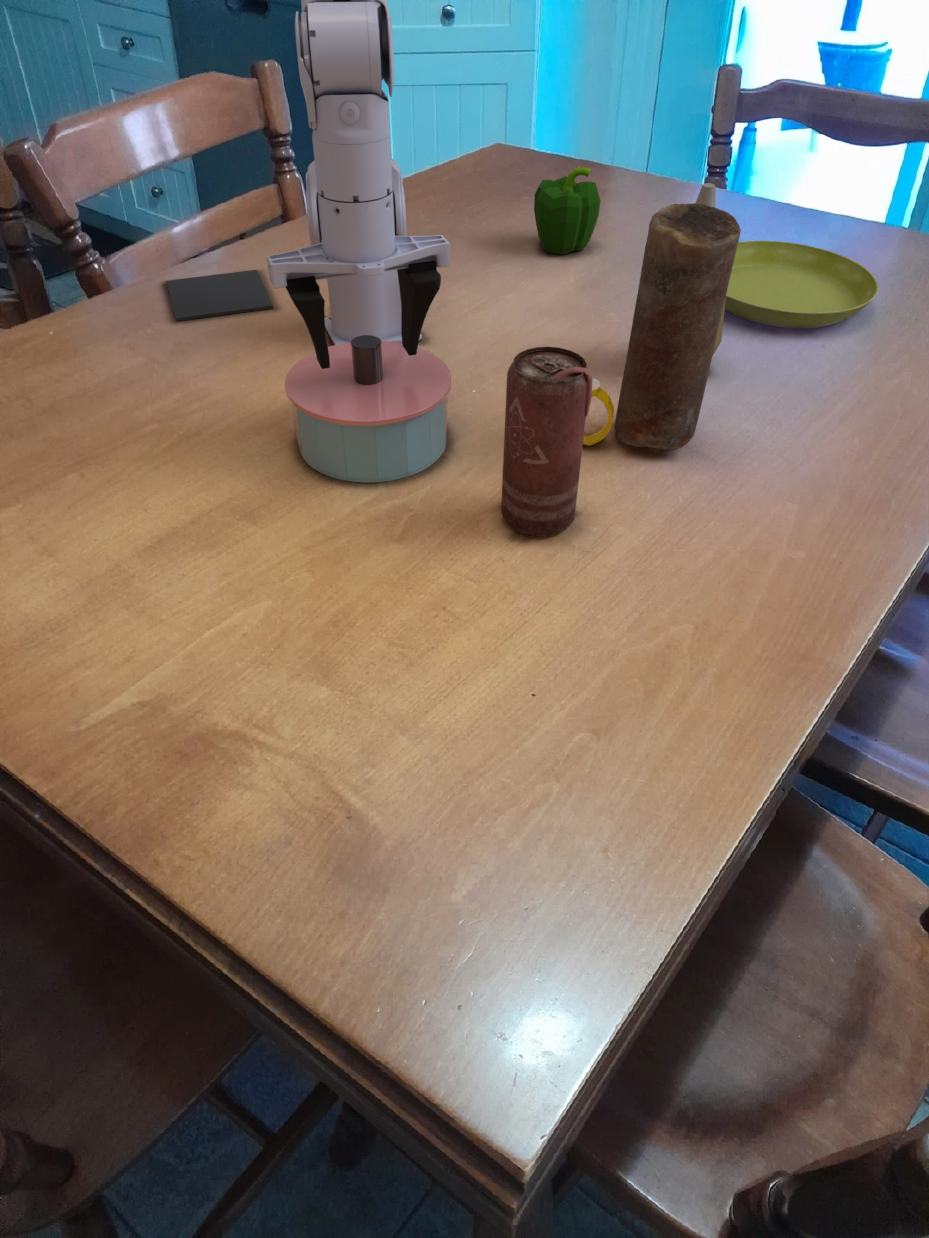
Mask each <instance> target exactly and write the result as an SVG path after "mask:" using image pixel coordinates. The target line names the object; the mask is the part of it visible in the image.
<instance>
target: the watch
mask: <svg viewBox="0 0 929 1238" xmlns="http://www.w3.org/2000/svg"><path fill="white" fill-rule="evenodd" d="M594 397H596V398H597V399H598V400H600V401H601V402H602V403H603V405H604V406H605V409H606V411H607V414H608V419H607V422H606V423H605V424H604V426H603V427H602V428H601V429H600V430H598V431H596V432H594V433H592V434H590V435H588V434H587V435H586V434H584V438H583V446H584V445H585V446H589V447H591V446H593V445H595V444H597V443H599V442H601V441H603V440H604V439H605V437H606V436H608V434H609V432H610V431H611V430H612V429H611V428H612V426H613V419H614V413H615V408H614V404H613V401H612V399H611V397H610V395H609V394H608V392H607V391H605V390H604V389H603V388H602V387H601V383H600V381H599V380H598V379H597V378H595V377H593V378H592V398H594Z"/></svg>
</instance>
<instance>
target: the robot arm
mask: <svg viewBox="0 0 929 1238" xmlns="http://www.w3.org/2000/svg"><path fill="white" fill-rule="evenodd" d="M300 4H301V13H299V11H297V10H296V11H295V17H294V31H295V46H296V56H297V65H298V74H299V81H300V85H301V88H302V92H303V96H304V100H305V105H306V111H307V121H308V128H309V129H312V133H311V140H312V149H313V159H314V160H313V161H311V162H310V164H308V167H307V171H306V173H305V186H306V187H305V201H306V202H305V204H306V215H307V217H306V218H307V225H308V235H309V241H310V245H307V246H304V247H301V248H296V249H294V250H293V249H292V250H290V251H285V252H280V253H275V254H268V255H266V263H267V271H268V277H269V280H270V283H271V285H272V288H273V289H275V290H276V289H282V288H283V289H285V290H286V292H287V293H288V296H289V297H290V299H291V300H292V303H293V304H294V306H295V308H296V309H297V311H298V313H299V314H300V316H301V318H302V319H303V322H304V323H305V326H306V328H307V330H308V333H309V336H310V338H311V341H312V344H313V345H312V346H313V348H314V352H316V357H317V360H318V362H319V364H320V366H321V368H322V369H326V368H330V358H329V352H328V347H329V345H328V341H327V336H326V335H327V334H326V332H327V333H328V336H329V337H330V339H331V342H332V343H333V346H334V345H338V344H343V343H349V342H351V341H352V339H354V338H355V337H358V336H362V335H372V336H376V337H378V338H379V339H380V340H381V341H389V342H397V343H402V344H403V347H404V349H405V350H406V352H407V353H408V355H409V356H411V355H416V354H417V347H418V346H419V341H420V340H423V335H422V329H423V327H424V323H425V320H426V317H427V314H428V311H429V309H430V307H431V305H432V303H433V301H434V299H435V297H436V296H437V294H438V292H439V291H440V289H441V284H442V276H441V273H440V272H439V271H438V269H437V268H447V267H450V260H451V259H450V258H451V257H450V255H451V254H450V242H449V241H448V240H447V239H446V237H445V236H444V235H443V234H435V235H434V234H433V235H407V214H406V212H407V211H406V210H407V209H406V197H405V190H404V189H405V188H404V184H403V183H404V181H403V172H402V170H401V169H400V166H399V163H398V162H397V161H396V160H394V159H393V158H392V143H391V142H392V141H391V121H390V119H391V118H390V101H389V98H388V96H387V94H386V93H385V92H384V90H383V87H382V85H383V84H382V81H384V82H385V84H386V85H387V87H388V88H387V89H388V93H389V97H390V98H392V96H393V92H394V91H393V90H394V84H395V53H394V50H395V49H394V34H393V23H392V16H391V13H390V10H389V5H388V1H387V0H300ZM319 280H320V281H321V280H327V281H326V282H327V291H328V302H329V312H330V316H326V317H325V314H326V313H325V303H326V302H325V301H326V300H325V298H324V297H323V295H322V293H321V289H320V285H319V284H318V282H317V281H319ZM418 348H419V347H418Z"/></svg>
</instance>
